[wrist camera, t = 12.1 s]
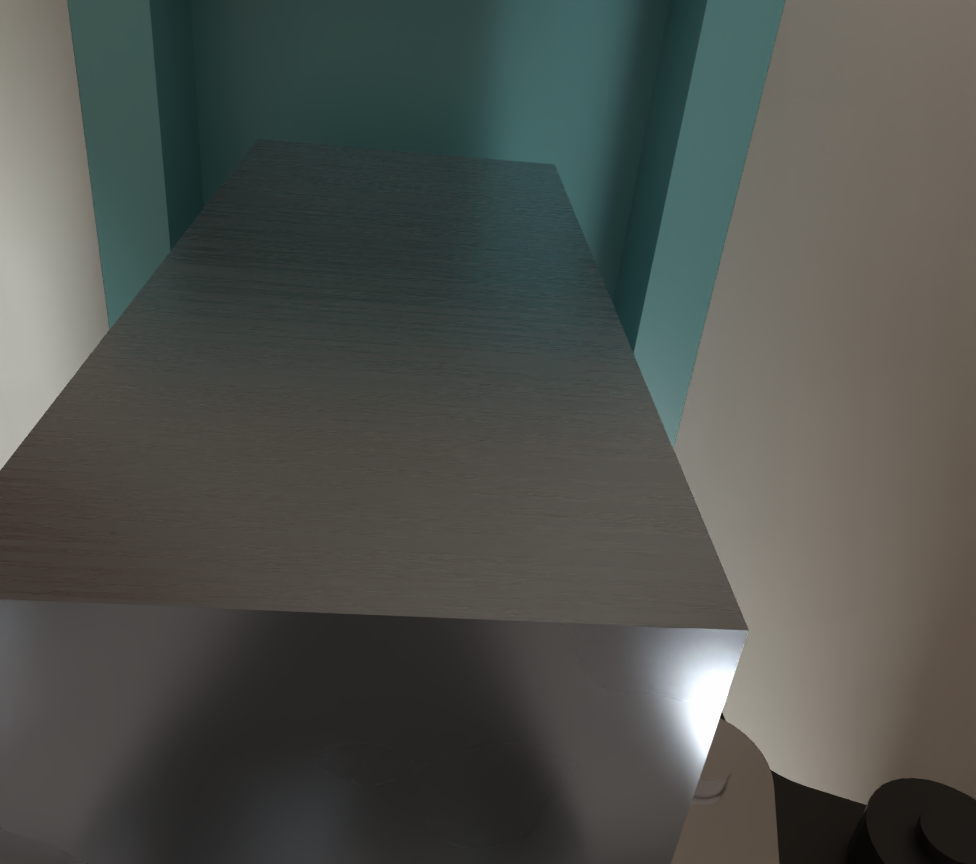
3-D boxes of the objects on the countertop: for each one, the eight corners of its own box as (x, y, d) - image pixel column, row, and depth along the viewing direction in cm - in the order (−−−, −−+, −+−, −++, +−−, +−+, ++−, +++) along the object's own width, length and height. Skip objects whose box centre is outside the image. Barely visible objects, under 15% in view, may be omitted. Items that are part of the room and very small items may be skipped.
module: (554, 165, 12) (749, 631, 4) (496, 604, 16) (543, 1244, 8) (258, 138, 12) (-97, 595, 4) (274, 594, 16) (114, 1252, 8)
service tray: (752, -118, 13) (815, -121, 11) (586, 638, 20) (603, 728, 18) (114, -198, 12) (39, -219, 10) (190, 619, 20) (158, 710, 17)
